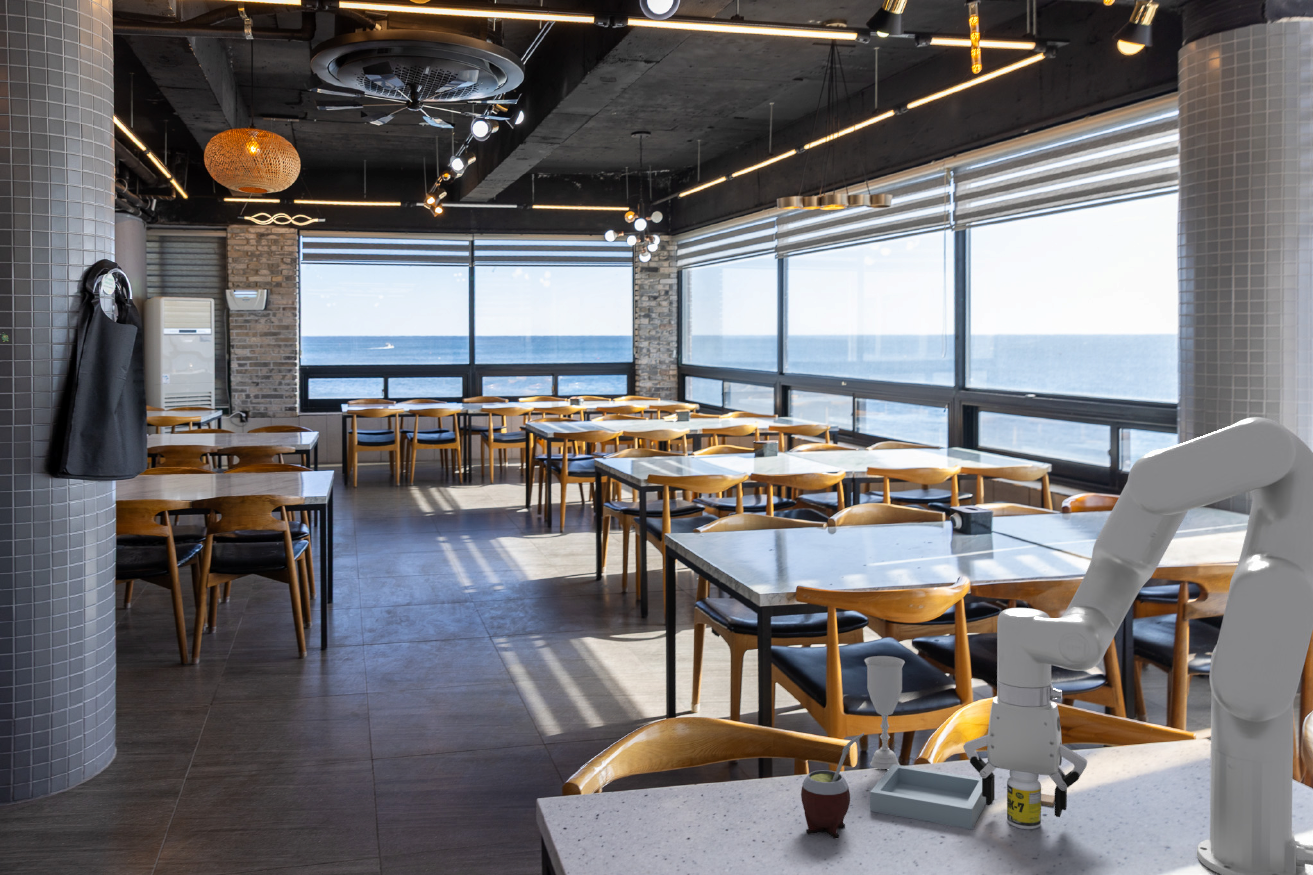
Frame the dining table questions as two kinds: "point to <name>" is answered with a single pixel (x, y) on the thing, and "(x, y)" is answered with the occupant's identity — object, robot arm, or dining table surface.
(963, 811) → the tray
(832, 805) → the mate gourd
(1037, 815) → the supplement bottle
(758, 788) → the dining table surface
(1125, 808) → the dining table surface
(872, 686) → the chalice
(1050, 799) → the walnut pad
